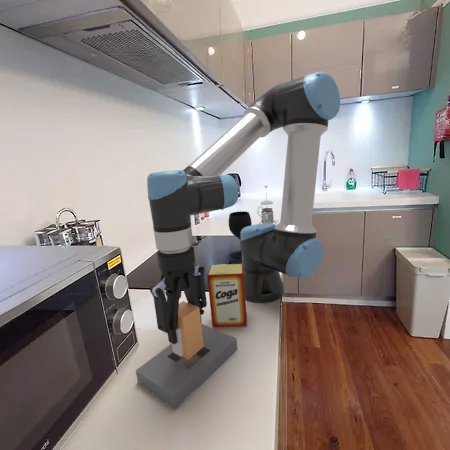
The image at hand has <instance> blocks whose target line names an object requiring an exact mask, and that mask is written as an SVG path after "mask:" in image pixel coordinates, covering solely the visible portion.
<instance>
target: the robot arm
mask: <svg viewBox="0 0 450 450" xmlns="http://www.w3.org/2000/svg"><path fill="white" fill-rule="evenodd" d="M340 107H341V96H340V90H339V87H338V85H337V83H336V80H335V79H334V78H333V77H332V75H331V74H329V73H328V72H325V71H318V72H317V71H316V72H314V73H307V74H306V75H305V76H304V75H303V76H301V77H299V78H294V79H292V80H289V81H286V82H283V83H279V84H277V85H274V86H273V87H271V88H269V89H268V90H267V91H265V92H264V93H263V94H262V95H260V96H259V97H258V98H257V99H256V100H255V101H254V102H253V103H251V104H250V105H249V106H248V107H247V108H246V109H244V112H243V114H242V115H243V116H242V117H241V118H240V119H239V120H237V122H236V123H234V124H233V125H232V126H231V127H230V128H229V129H227V130H226V132H225V133H224V134H222V135H221V136H220V137H219V138H217V140H216V141H215V142H213V143H212V144H210V146H208V148H206V149H205V150H204V151H203V152H202V153H200V155H199V156H197V157H196V158H195V159H194V160H193V161H192V162H191V163H189V165H188V166H186V167H185V168H184V169H182V170H181V169H177V170H168V171H167V170H165V171H154V172H151V173H149V174H148V175H147V178H146V184H147V185H146V188H147V199H148V202H149V209H150V214H151V215H150V216H151V220H152V228H153V235H154V242H155V247H156V250H157V251H156V256H157V262H158V264H157V265H158V267H159V270H160V272H161V275H160V280H159V282H158V284H156V286H154V285H152V286H150V287H149V292H150V293H151V296H152V297H153V304H154V311H155V317H156V324H157V329H158V330H159V331H161V332H163V333H166V334H167V337H168V342H169V343H170V344H171V343H172V349H173V353H175V354H177V355H179V356H181V357H182V356H183V355H184V352H183V344H182V337H181V329H180V328H179V327H177V323H178V309H179V304H180V299H181V298H182V291H183V293H184V296H185V298H186V302H187V303H190V304H192V305H195V306H198V307H199V309H200V318H201V319H202V315H204V314H205V310H204V309H203V308H206V307H207V305H208V302H207V295H206V284H205V277H204V276H205V267H204V266H202V265H199V264H198V265H197V264H195V263H196V256H195V255H196V253H195V249H194V248H195V247H194V246H193V245H194V238H193V237H194V236H193V229H192V222H191V221H192V220H191V218H192V217H191V216H195V215H200V214H205V213H210V212H214V211H215V212H216V211H219V210H221V211H223V210H224V209H228V208H231V207H233V206H234V205H236V204H237V202H238V199H239V195H240V193H239V187H238V183H237V181H236V179H235V178H234V177H233V176H232V175H230V174H224V172H225V171H226V170H227V169H229V168H230V167H231V166H232V164H233V163H235V162H236V161H237V160H238V159H239V158H240V157H241V156H242V155H243V154H244V153H245V152H246V151H247V150H248V149H250V147H251V146H253V145H254V144H255V142H257V140H258V139H260V138H265V137H267V136H268V135H269V134H270V133H271V132H273V131H275V130H277V129H281V128H282V129H283V131H284V132H285V134H286V135H287V144H286V155H285V167H284V176H283V177H284V179H283V188H282V200H281V211H280V212H281V213H280V221H279V223H277V224H276V223H275V224H273V223H264V224H261V223H257V224H252V225H251V226H248V227H245V228H243V229H242V231H241V240H239V242H240V241H241V245H240V251H241V253H242V259H241V264H243V269H244V283H245V298H246V301H248V302H249V301H250V302H253V303H254V302H255V303H268V302H273V301H276V300H279V299H280V298H281V297H282V296H284V294H285V283H284V282H283V278H282V277H281V274H280V273H282V274H283V275H286V276H287V277H291V278H297V279H300V280H303V279H307V278H310V277H311V276H312V275H314V274H315V273H316V271H317V270H318V269H319V267H320V266H321V263H322V260H323V257H324V252H325V251H324V246H323V243H322V242H321V241H320V240H319V238H317V230H316V229H315V226H314V225H313V223H312V222H313V215H314V214H313V212H314V205H315V204H314V203H315V195H316V194H315V193H316V185H317V175H318V174H317V173H318V165H319V158H320V156H319V155H320V149H321V148H320V146H321V137H322V135H324V134H325V133H326V132H327V131H328V128H329V127H328V126H329V121H331V120H332V119H333V120H334V119H335V118H336V116H338V114H339V111H340ZM201 324H203V323H202V320H201ZM182 358H183V357H182Z"/></svg>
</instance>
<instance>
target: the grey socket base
mask: <svg viewBox="0 0 450 450" xmlns="http://www.w3.org/2000/svg"><path fill="white" fill-rule="evenodd" d="M201 327H202V336H203V344H204V347H203V348H202V349H200V350H199V351H198V352H197V353H196V354H197V355H199V356H201V358H200V359H199V360H198V361H196V363H194V364H193V365H192V366H191V367H189V368H187V367H186V366H183V365H182V364H180V363H178V361H179V360H181V359H182V358H181V356H179V355H177V354H175V353H173V351H172V346H171V344H169V345H168V346H166V347H165V348H164V349H163V350H161V351H160V352H159V353H157V354H155V356H153V357H151V358H150V359H149V360H147V361H146V362H145V363H144V364H142V365H140V367H138V368H137V369H135V376H136V379H137V383H138V382H140V383H141V384H142V385H144V386H145V387H146V388H148V389H149V390H150V391H149V390H148V389H147V390H148V391H149V392H151V391H152V392H153V393H154V394H153V393H152V392H151V393H152V394H153V395H155V396H156V395H157V396H158V397H157V396H156V397H157V398H159V399H160V398H161V399H162V400H161V399H160V400H161V401H163V402H164V401H165V402H164V403H166V404H167V403H168V404H169V405H168V404H167V405H168V406H169V407H171V406H172V407H173V408H172V409H174V408H175V409H176V408H177V407H178V406H179V405H180V404H181V403H182V402H183V401H184V400H185V399H186V398H187V397H188V396H189V395H190V394H191V393H192V392H193V391H194V390H195V389H196V388H197V387H198V386H199V387H200V386H201V385H202V384H203V383H205V382H206V381H207V380H208V378H210V377H211V375H212V374H214V373H215V372H216V370H218V369H219V367H221V366H222V365H223V364H224V363H225V362H226V361H227V360H228V359H229V358H230V357H231V356H232V355H233V354H234V353H235V352H236V351H237V350H238V342H237V341H238V340H237V337H234V336H233V335H229V334H227V333H225V332H222V331H220V330H217V329H215V328H214V327H210V326H207V325H205V324H203V323H201ZM177 360H178V361H177ZM176 361H177V362H176ZM140 383H139V384H140ZM141 384H140V385H141ZM142 385H141V386H142ZM144 386H143V387H144ZM145 387H144V388H145ZM199 387H198V388H199ZM146 388H145V389H146ZM198 388H197V389H198ZM197 389H196V390H197ZM196 390H195V391H196ZM195 391H194V392H195ZM194 392H193V393H194ZM193 393H192V394H193ZM192 394H191V395H192ZM191 395H190V396H191ZM190 396H189V397H190ZM189 397H188V398H189ZM188 398H187V399H188ZM187 399H186V400H187ZM186 400H185V401H186ZM185 401H184V402H185ZM184 402H183V403H184ZM183 403H182V404H183ZM182 404H181V405H182ZM181 405H180V406H181ZM180 406H179V407H180ZM179 407H178V408H179ZM178 408H177V409H178ZM175 409H174V410H175ZM177 409H176V410H177Z"/></svg>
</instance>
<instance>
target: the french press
mask: <svg viewBox="0 0 450 450" xmlns="http://www.w3.org/2000/svg"><path fill="white" fill-rule="evenodd" d="M264 188H265V189H267V188H268V185H264ZM265 195H266V200H263V201H261V202H260V204H261V205H259V206H258V208H257V210H256V212H257V214H258V216H259V217H260V218H261V222H260V224H261V223H262V224H264V223H274V222H275V220H274V210H273V208H272V207H265V208H263V207H262V208H261V206H263V205H264V206H268V205H272V204H274V202H273V201H272V200H268V198H267V197H268V196H267V193H265ZM260 209H261V212H260V213H261V214H260V213H259V211H260Z"/></svg>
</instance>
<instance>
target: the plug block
mask: <svg viewBox="0 0 450 450" xmlns="http://www.w3.org/2000/svg"><path fill="white" fill-rule="evenodd" d="M201 321H202V317H201V318H200V309H199V307H198V306H195V305H192V304H190V303H188V301H181V302H179V309H178V323H177V327H179V328H180V329H181V337H182V344H183V352H184V355H183V356H182V358H183V359H186V361H187V360H188V361H189V359H191V358H192V357H194V355H196V354H197V352H198V351H199V350H200V349H202V348H203V347H204V344H203V336H202V327H201V324H202V323H201ZM170 345H171V346H172V343H170ZM172 351H173V349H172Z"/></svg>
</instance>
